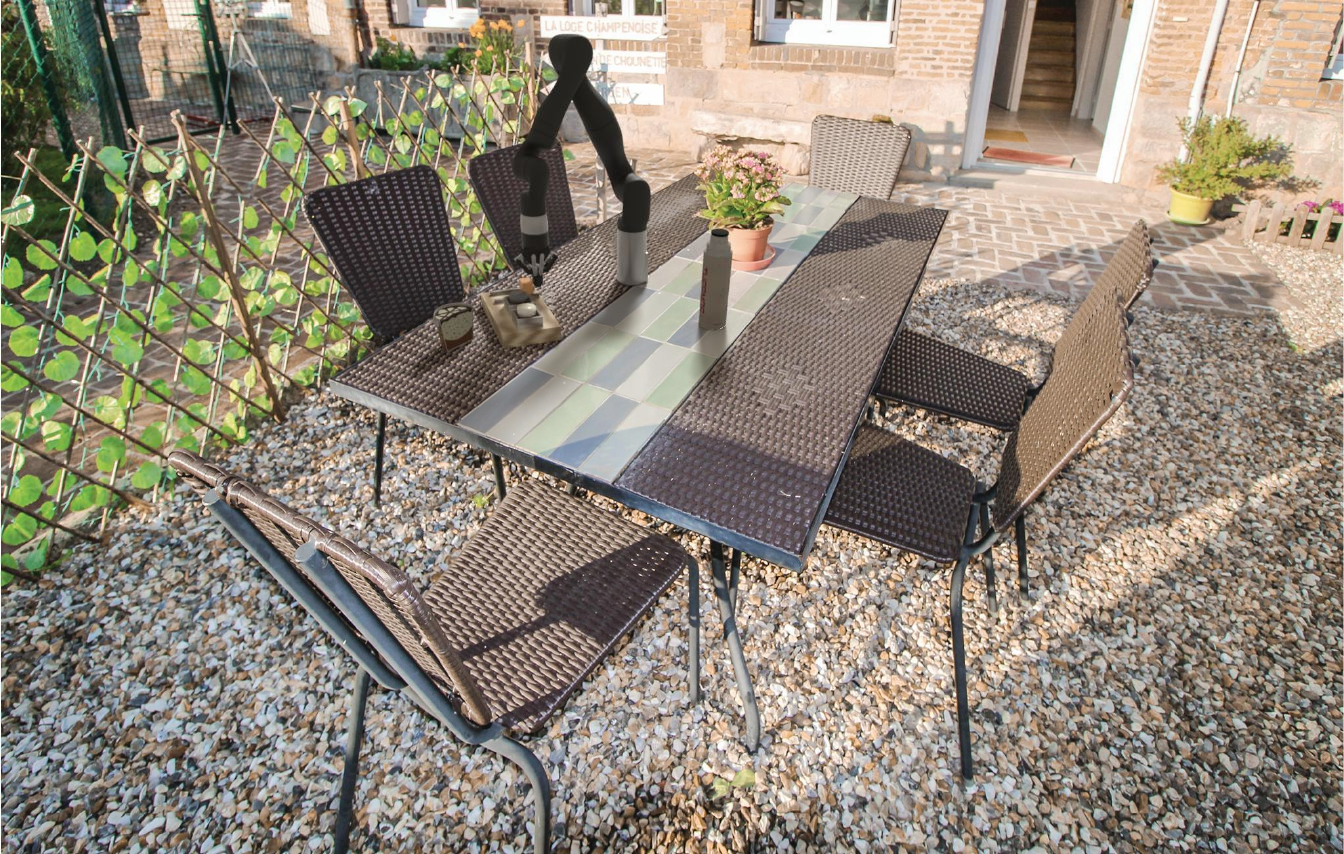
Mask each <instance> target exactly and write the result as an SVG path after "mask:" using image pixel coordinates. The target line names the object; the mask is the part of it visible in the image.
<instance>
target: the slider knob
mask: <svg viewBox="0 0 1344 854" xmlns="http://www.w3.org/2000/svg"><path fill="white" fill-rule="evenodd" d="M533 286H534V284H533V282H532V278H530V277H523V278H519V287H520V290H522V291H525V292H527V293H528V294H534V291H533Z"/></svg>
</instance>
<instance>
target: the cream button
mask: <svg viewBox="0 0 1344 854" xmlns="http://www.w3.org/2000/svg"><path fill="white" fill-rule="evenodd" d="M517 314H518V316H520V317H532V316H534V315H535V314H536V306H535V305H533V304H530V303H523V304H520V305H518V306H517Z"/></svg>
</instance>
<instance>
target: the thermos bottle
mask: <svg viewBox="0 0 1344 854" xmlns="http://www.w3.org/2000/svg"><path fill="white" fill-rule="evenodd" d="M729 235H730V232H729V230H728V229H725V228H718V227H717V228H713V229H711V231H710V238H709V239H708V240H707V242H706V244H705V245H706V246H705V247H704V249H703V253H702V254H703V256H702V257H703V259H702V270H701V287H700V288H701V289H700V296H699V297H700V299H699V300H700V301H699V313H698V325H699V327H700V328H702V327H703V328H702V329H704V328H705V330H708V329H720V328H722V327H724V326H725V325H726V326H727V315H728V305H729V293H730V284H731V277H732V276H731V274H732V272H731V271H732V263H733V250H732V245H731V244H732V243H731V242H730V241H729ZM726 326H725V327H726ZM725 327H724V328H725ZM720 330H721V329H720Z"/></svg>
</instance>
